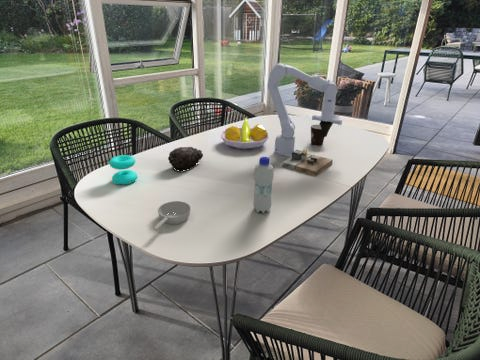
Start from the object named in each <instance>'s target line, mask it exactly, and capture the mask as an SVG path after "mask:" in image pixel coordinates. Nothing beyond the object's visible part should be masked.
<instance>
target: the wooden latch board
mask: <svg viewBox="0 0 480 360" xmlns="http://www.w3.org/2000/svg"><path fill="white" fill-rule="evenodd" d="M311 157H315V158H317V162H315V161H314V164H310V163H307V160H302V159H300V160H295V159H292V156H290V157H288V158H287V159H286V160H283V161H282V164H281V165H282V167H283V168H287V169H291V170H295V171H297V172H298V171H299V172H301V173H305V174H308V175H312V176H316V177H317V175H319V174H320V173H322V172H323V171H324V170H325V169H327V168H328V167H330V166H331V165H332V164H333V161H334V160H333V159H332V158H327V157H324V156H319V155H316V154H312V153H308V152H307V159H310V158H311Z"/></svg>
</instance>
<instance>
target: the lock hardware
mask: <svg viewBox="0 0 480 360" xmlns="http://www.w3.org/2000/svg"><path fill="white" fill-rule="evenodd" d="M302 154H303V150H300V149H294V152H292V156H291V157H292V159H295V160H300V155H302ZM314 161H315V162H317V158H315V157H311V158H310V159H307V163H310V164H314Z"/></svg>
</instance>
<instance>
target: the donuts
mask: <svg viewBox="0 0 480 360" xmlns="http://www.w3.org/2000/svg"><path fill="white" fill-rule="evenodd" d="M108 163H109V166H110V167H111V168H112V169H115V170H118V171H117V172H115V173H114V174H113V175H112V176H111V177H112V178H111V180H112V182H113V183H114V184H115V183H116V185H118V184H127V185H130V184H129V183H131V184H133V183H134V181H135V180H136V179H137V180H138V173H137V172H135V171H133V170H131V169H130V168H132V167H133V166H134V165H135V164H136V159H135V157H134V156H132V155H128V154H121V155H116V156H113V157H112V158H110V160H109V162H108ZM129 169H130V170H129ZM137 180H136V181H137ZM136 181H135V182H136ZM132 182H133V183H132Z"/></svg>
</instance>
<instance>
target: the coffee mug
mask: <svg viewBox="0 0 480 360" xmlns="http://www.w3.org/2000/svg"><path fill="white" fill-rule="evenodd" d="M324 140H325V137H323V136H322V129H321V126H320V124H318V123H316V124H311V125H310V145H312V146H314V147H321V145H322V146H323V145H324Z"/></svg>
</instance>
